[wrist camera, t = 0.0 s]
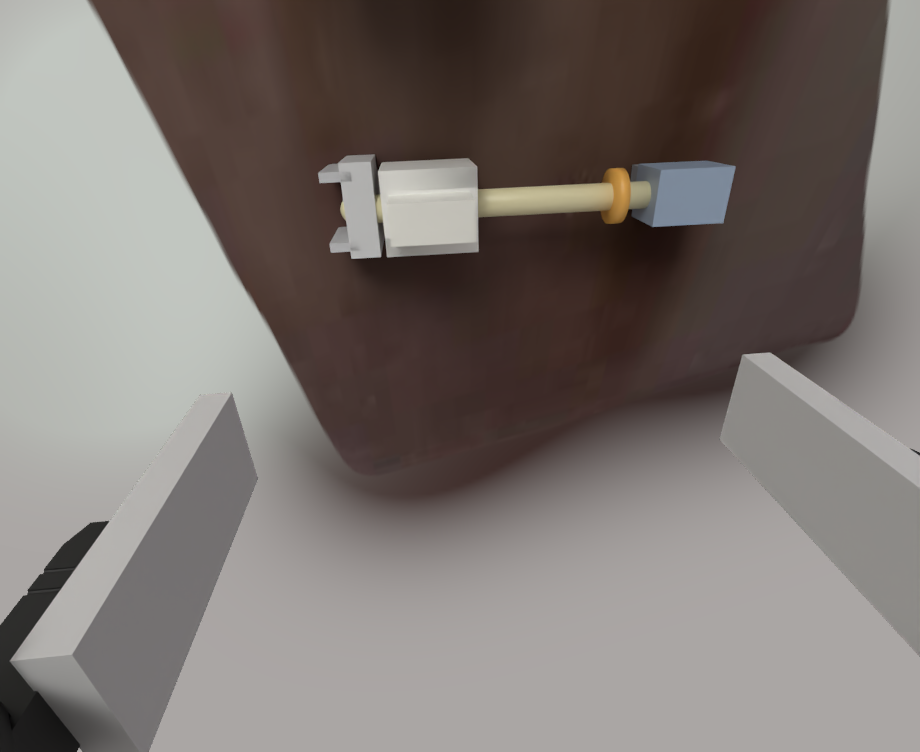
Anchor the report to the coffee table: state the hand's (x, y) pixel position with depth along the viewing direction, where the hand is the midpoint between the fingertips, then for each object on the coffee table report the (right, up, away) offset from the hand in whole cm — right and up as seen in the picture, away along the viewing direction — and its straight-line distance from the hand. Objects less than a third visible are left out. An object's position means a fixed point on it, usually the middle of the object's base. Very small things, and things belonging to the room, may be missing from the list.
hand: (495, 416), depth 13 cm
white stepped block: (-3, +14, +23) cm, 27 cm away
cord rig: (+3, +15, +24) cm, 29 cm away
